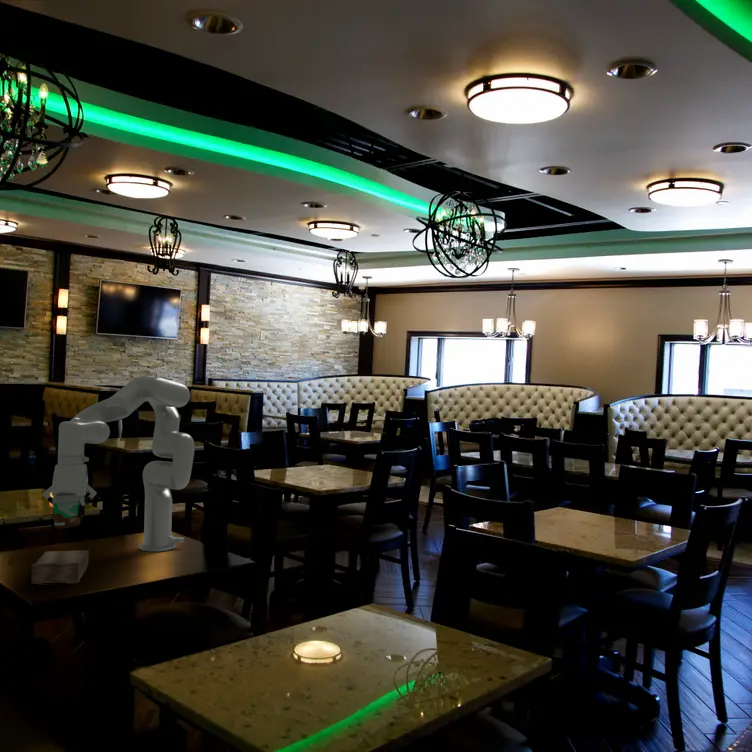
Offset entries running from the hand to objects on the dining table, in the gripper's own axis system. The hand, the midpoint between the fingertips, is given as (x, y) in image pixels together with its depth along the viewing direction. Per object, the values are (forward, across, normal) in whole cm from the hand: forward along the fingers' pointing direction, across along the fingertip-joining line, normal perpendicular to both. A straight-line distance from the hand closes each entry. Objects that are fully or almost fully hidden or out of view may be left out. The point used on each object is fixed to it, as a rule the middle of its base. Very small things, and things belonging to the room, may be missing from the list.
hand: (69, 517), depth 229 cm
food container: (+3, -1, 0) cm, 3 cm away
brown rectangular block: (+18, +2, 0) cm, 18 cm away
